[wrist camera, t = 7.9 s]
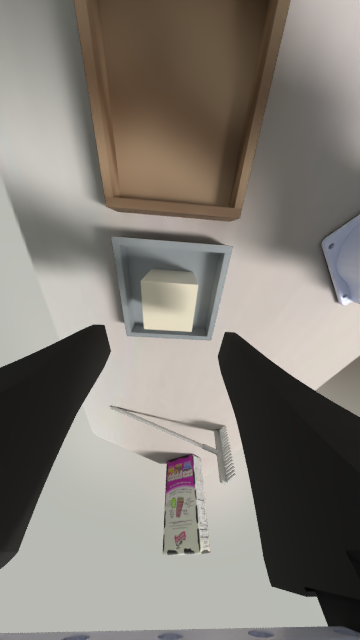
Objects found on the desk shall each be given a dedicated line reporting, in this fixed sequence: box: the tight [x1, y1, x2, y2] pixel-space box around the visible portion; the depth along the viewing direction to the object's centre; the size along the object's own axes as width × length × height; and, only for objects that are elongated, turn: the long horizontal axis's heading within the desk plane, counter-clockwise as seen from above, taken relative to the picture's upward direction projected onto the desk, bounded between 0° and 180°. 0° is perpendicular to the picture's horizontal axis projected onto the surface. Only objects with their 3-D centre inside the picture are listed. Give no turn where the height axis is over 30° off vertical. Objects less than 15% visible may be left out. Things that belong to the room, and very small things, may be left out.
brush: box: [111, 406, 236, 484], centre depth 30 cm, size 4×28×9 cm, turn 64°
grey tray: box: [111, 237, 233, 341], centre depth 16 cm, size 11×11×2 cm
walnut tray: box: [74, 0, 290, 221], centre depth 9 cm, size 11×11×2 cm
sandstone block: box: [141, 269, 198, 332], centre depth 14 cm, size 4×4×5 cm
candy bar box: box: [163, 454, 210, 555], centre depth 40 cm, size 11×5×16 cm, turn 128°
